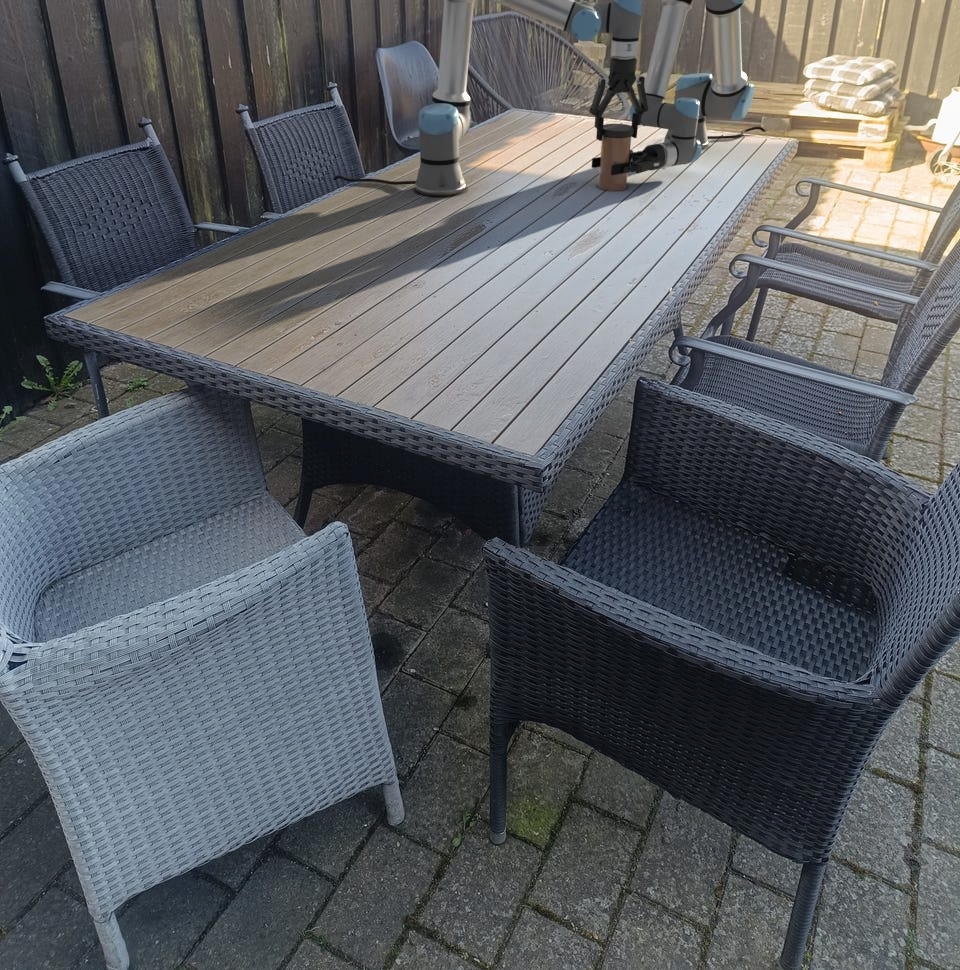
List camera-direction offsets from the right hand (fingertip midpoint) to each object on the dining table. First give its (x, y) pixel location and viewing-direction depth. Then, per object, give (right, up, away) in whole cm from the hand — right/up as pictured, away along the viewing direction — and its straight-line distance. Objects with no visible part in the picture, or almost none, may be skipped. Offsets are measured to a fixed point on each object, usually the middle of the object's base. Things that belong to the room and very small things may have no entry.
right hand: (602, 166), depth 255 cm
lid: (+4, +10, -4) cm, 11 cm away
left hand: (+4, +8, -2) cm, 9 cm away
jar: (+4, -4, +6) cm, 8 cm away
